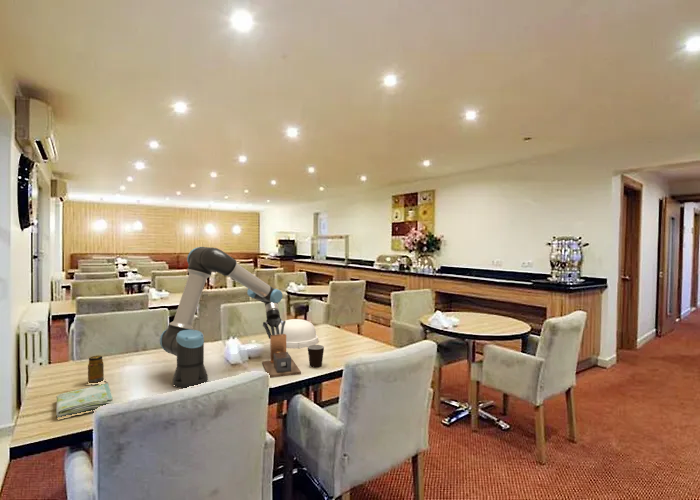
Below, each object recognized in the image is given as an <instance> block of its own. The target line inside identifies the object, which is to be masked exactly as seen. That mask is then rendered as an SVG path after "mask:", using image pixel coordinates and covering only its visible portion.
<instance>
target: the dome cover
mask: <svg viewBox="0 0 700 500" xmlns="http://www.w3.org/2000/svg"><path fill="white" fill-rule="evenodd" d="M284 321H286V322H285V325H284V331H283V334H286V349H303V348H308V346H310V345H318V343H319V336H318V334H317V332H316V331H317V330H316V327H315V326H314V324H313V323H312V322H311V321H309V320H306V319H301V318H293V319H291V318H290V319H286V320H284ZM281 327H282V325H281V323H280V324H279V333H280V334H281ZM274 331H275V335H277V334H276V328H274Z"/></svg>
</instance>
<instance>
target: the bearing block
mask: <svg viewBox="0 0 700 500" xmlns="http://www.w3.org/2000/svg"><path fill="white" fill-rule="evenodd" d="M291 359H292V357H291V355H290V353H289V352H288V351H286V352H280V353H274V368H275V370H276V372H277V373H281V372H290V371H291ZM281 362H286V366H281Z"/></svg>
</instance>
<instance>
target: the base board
mask: <svg viewBox="0 0 700 500" xmlns="http://www.w3.org/2000/svg"><path fill="white" fill-rule="evenodd" d="M261 365H262V367H263V369H264V371H265V373H266V372H267V373H269V375H270V378H280V377H288V376H295V375H301V374H302V371H301V369H300V368H299V367H298V365H297V363H296V362H295V361H294V360H293V358H291V371H290V372H281V373H277V372H276V370H275V368H274V363H271V362H270V360H264V361H262V362H261ZM270 378H269V379H270Z"/></svg>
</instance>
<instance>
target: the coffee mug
mask: <svg viewBox="0 0 700 500" xmlns="http://www.w3.org/2000/svg"><path fill="white" fill-rule="evenodd" d="M324 351H325V345H321V344H316V345H310V346H308V347H307V354H308V361H309V367H310V368H313V369H315V368H321V367H322V366H323V359H324Z"/></svg>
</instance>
